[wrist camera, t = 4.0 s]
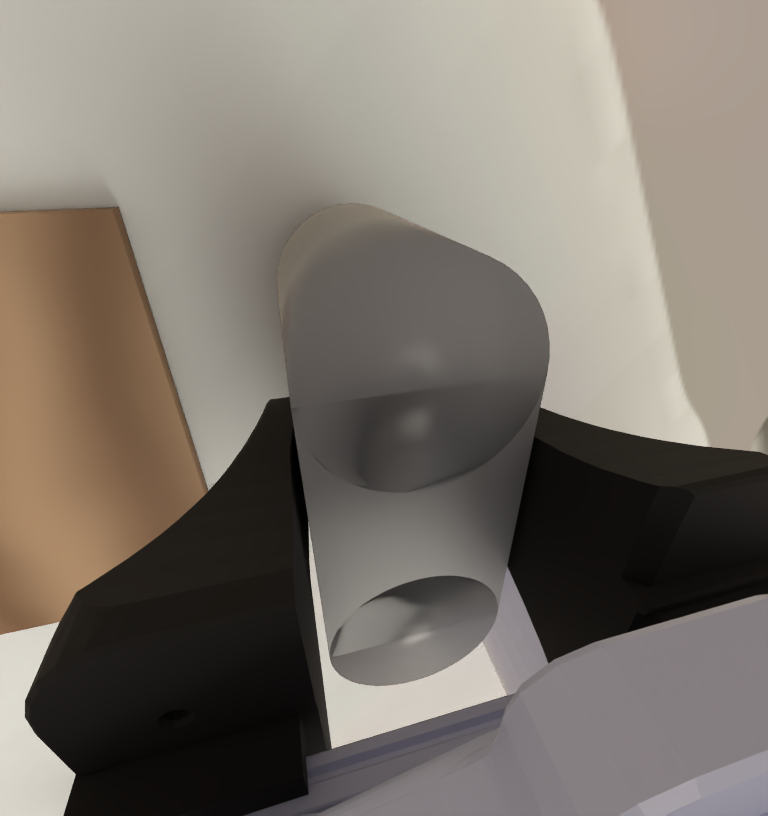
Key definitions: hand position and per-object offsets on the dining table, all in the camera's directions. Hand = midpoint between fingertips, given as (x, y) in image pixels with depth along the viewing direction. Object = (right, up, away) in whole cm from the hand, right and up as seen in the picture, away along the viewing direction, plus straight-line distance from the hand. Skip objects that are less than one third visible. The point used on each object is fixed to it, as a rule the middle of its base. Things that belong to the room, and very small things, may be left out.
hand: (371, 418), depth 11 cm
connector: (0, +1, +1) cm, 2 cm away
